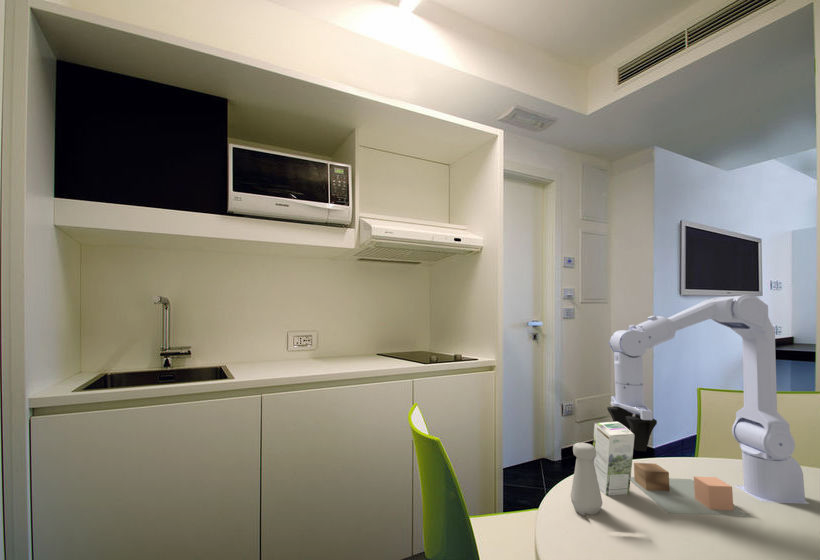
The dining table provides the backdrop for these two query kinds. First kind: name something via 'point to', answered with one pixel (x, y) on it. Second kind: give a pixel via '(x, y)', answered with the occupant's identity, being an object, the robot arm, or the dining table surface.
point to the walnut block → (651, 476)
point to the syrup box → (613, 457)
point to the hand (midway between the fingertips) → (631, 444)
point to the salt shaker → (585, 481)
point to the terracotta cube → (713, 493)
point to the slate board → (683, 499)
